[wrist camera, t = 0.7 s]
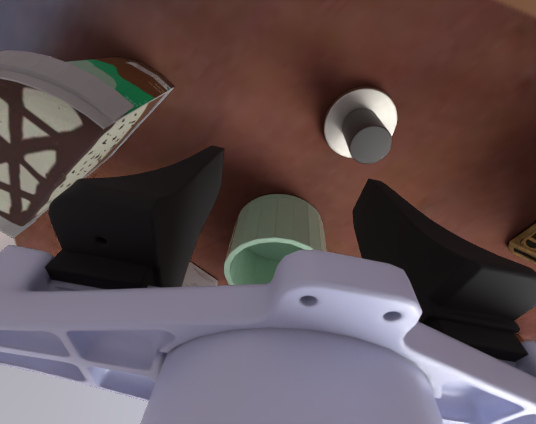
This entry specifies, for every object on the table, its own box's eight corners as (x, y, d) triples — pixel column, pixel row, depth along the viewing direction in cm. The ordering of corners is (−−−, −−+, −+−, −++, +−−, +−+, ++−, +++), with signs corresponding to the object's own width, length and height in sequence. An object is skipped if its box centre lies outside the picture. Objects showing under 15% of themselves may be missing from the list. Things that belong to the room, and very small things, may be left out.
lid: (401, 136, 20) (422, 162, 17) (337, 164, 22) (344, 191, 19) (383, 71, 18) (404, 85, 14) (312, 108, 20) (316, 128, 16)
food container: (111, -15, 16) (-65, -36, 8) (187, 72, 19) (110, 120, 11) (34, 111, 22) (-116, 172, 14) (102, 165, 24) (10, 242, 16)
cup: (336, 244, 28) (345, 293, 23) (263, 267, 31) (257, 314, 26) (300, 179, 23) (301, 222, 19) (219, 213, 27) (202, 258, 22)
